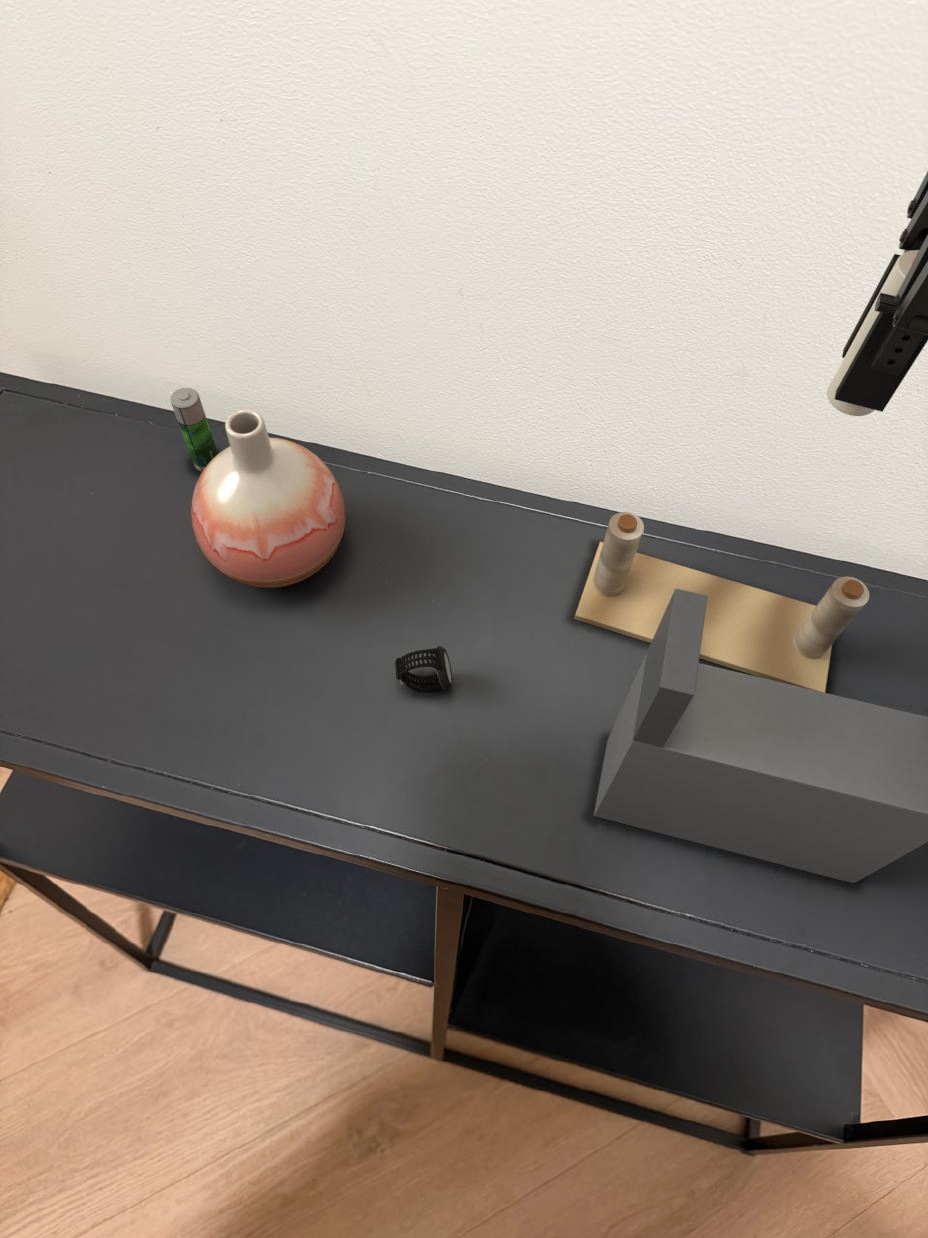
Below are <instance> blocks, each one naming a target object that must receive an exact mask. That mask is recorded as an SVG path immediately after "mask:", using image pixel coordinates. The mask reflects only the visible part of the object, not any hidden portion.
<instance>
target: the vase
mask: <svg viewBox="0 0 928 1238" xmlns="http://www.w3.org/2000/svg"><path fill="white" fill-rule="evenodd" d="M224 428H225V432H226V436H227V439H228V440H227V441H228V444H229V446H228V447H226V448H224V449H223V450H221V451H220V452H218V454H217V455H216V456H215V457H214V458H213V459H212V460H211V461H210V462H209V464H208V465H207V466H206V467H205V469H204V470H203V472H200V475H199V478H198V479H197V481H196V483H195V486H194V490H193V494H192V497H191V504H190V505H191V506H190V515H191V525H192V529H193V534H194V536H195V540H196V542H197V545H198V547H199V548H200V550H201V552H202V554H203V555H204V556H205V558H206V559H207V560H208V561H209V563H210V564H211V565H212V566H213V567H214V568H215V569H216V570H218V571H219V572H220V573H221V574H223V575H224V576H226V577H227V578H229V579H231V580H233V581H235V582H238V583H240V584H243V585H246V586H250V587H255V588H265V589H272V588H273V589H274V588H283V587H289V586H291V585H295V584H297V583H300V582H302V581H304V580H306V579H309V578H311V577H312V576H313V575H315V574H316V573H318V572H319V571H320V570H321V569H322V568H323V567H325V566H326V565H327V564H328V562H329V561H330V560H331V559H332V558H333V557H334V555H335V553H336V552H337V551H338V548H339V547H340V544H341V542H342V539H343V536H344V532H345V528H346V519H347V518H346V517H347V516H346V504H345V500H344V496H343V495H344V494H343V492H342V490H341V488H340V485H339V483H338V480H337V478H336V477H335V475H334V474H333V471H332V470H331V469H330V468H329V466H327V464H326V463H325V462H324V461H323V460H322V459H321V458H320V457H319V456H318V455H316V454H315V453H313V452H312V451H311V450H309V449H308V448H306V447H304V446H302V445H301V444H298V443H296V442H293V441H291V440H287V439H284V438H280V437H270V436H269V433H268V430H267V426H266V423H265V420H264V418H263V416H262V415H261V414H260V412H258V411H256V410H252V409H239V410H236V411H234V412H233V413H231V414H230V415H229V416H228V417H227V418H226V420H225V423H224Z"/></svg>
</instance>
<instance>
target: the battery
mask: <svg viewBox="0 0 928 1238" xmlns="http://www.w3.org/2000/svg"><path fill="white" fill-rule="evenodd" d="M169 400H170V404H171V407H172V410H173V412H174V415H175V417H176V420H177V423H178V425H179V428H180V431H181V434H182V436H183V439H184V441H185V444H186V446H187V449H188V452H189V455H190V457H191V460H192V463H193V465H194V468H195V469H196V470H197V471H199V472H200V473H202V472H203V470H204V469H205V467H206V466H207V465H208V464H209V462H210V461H211V460H212V459H213V458H214V457H215V456H216V455H217V454H219V452H218V449H217V446H216V443H215V439H214V437H213V434H212V430H211V428H210V425H209V421H208V418H207V416H206V412H205V409H204V406H203V403H202V401H201V397H200V394H199V392H198V391H197V390H196V389H194V388H192V387H181V388H178V389H176V390H174V391H173V392H172V393H171V395H170V399H169Z"/></svg>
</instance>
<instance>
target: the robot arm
mask: <svg viewBox="0 0 928 1238" xmlns="http://www.w3.org/2000/svg"><path fill="white" fill-rule="evenodd" d="M906 213H907V214H906V218H907V219H909V220H910V221H909V223H908V224H907V226H906V228H904V229H903V230H902V232H901V234H900V236H899V239H898V241H899V244H898V249H899V250H901V251H903V252H902V254H904V253H906V252H908V251H913V250H919V252H918V254H917V256H916V258H915V260H914V262H913V264H912V266H911V268H910V270H909V272H908V273H907V275H906V277H905V279H904V281H903V283H902V285H901V287H900V289H899V291H898V293H897V295H896V296H893V295H888V294H884V293H880V291H881V289H882V287H883V285H884V283H885V282H886V280H887V278H888V276H889V274H890V272H891V270H892V269H893V267H894V265H895V263H896V261H897V259H898V258H899V257H900V256H901V255H902V254H897V253H894V254H893V256H892V257H891V259H890V262H889V263H888V265H887V267H886V268H885V270H884V272H883V274H882V276H881V278H880V280H879V282H878V284H877V285H876V287H875V289H874V291H873V293H872V295H871V297H870V299H869V301H868V302H867V304H866V306H865V308H864V310H863V312H862V313H861V315H860V317H859V320H858V321H857V323H856V325H855V327H854V328H853V331H852V332H851V334H850V336H849V338H848V340H847V342H846V344H845V345H844V347H843V350H842V355H841V358H843V359H844V357H845V355H846V354H847V352H848V350H849V348H850V346H851V344H852V343H853V341H854V339H855V337H856V335H857V333H858V331H859V330H860V328H861V326H862V324H863V322H864V320H865V319H866V317H867V315H868V313H869V311H870V309H871V307H872V306H873V304H874V302H875V300H876V298H877V296H878V295H879V293H880V295H879V297H878V299H877V302H876V305H875V311H877V312H879V314H878V316H877V318H876V320H875V321H874V323H873V325H872V327H871V329H870V330H869V332H868V334H867V336H866V338H865V339H864V341H863V343H862V345H861V347H860V348H859V350H858V352H857V354H856V356H855V357H854V359H853V361H852V363H851V365H850V366H849V368H848V370H847V372H846V374H845V375H844V377H843V379H842V381H841V383H840V385H839V386H838V388H837V390H836V394H835V400H839V401H843V402H846V403H850V404H854V405H858V406H862V407H866V408H869V409H873V410H874V411H877V412H881V413H883V412H884V410H885V409H886V407H887V406H888V404H889V402H890V400H891V399H892V398H893V396H894V394H895V393H896V392H897V390H898V388H899V386H901V383H902V382H903V381H904V379H905V377H906V376H907V374H908V373H909V371H910V369H911V368H912V366H913V365H914V364H915V361H916V360H917V358H918V357H919V355H920V354H921V352H922V350H923V349H924V347H925V346H926V344H927V343H928V170H927V172H926V173H925V175H924V177H923V179H922V181H921V183H920V186H919V187H918V189H917V191H916V194H915V195H914V197H913V199H912V200H910V202H909V203H908V206H907V211H906Z"/></svg>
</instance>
